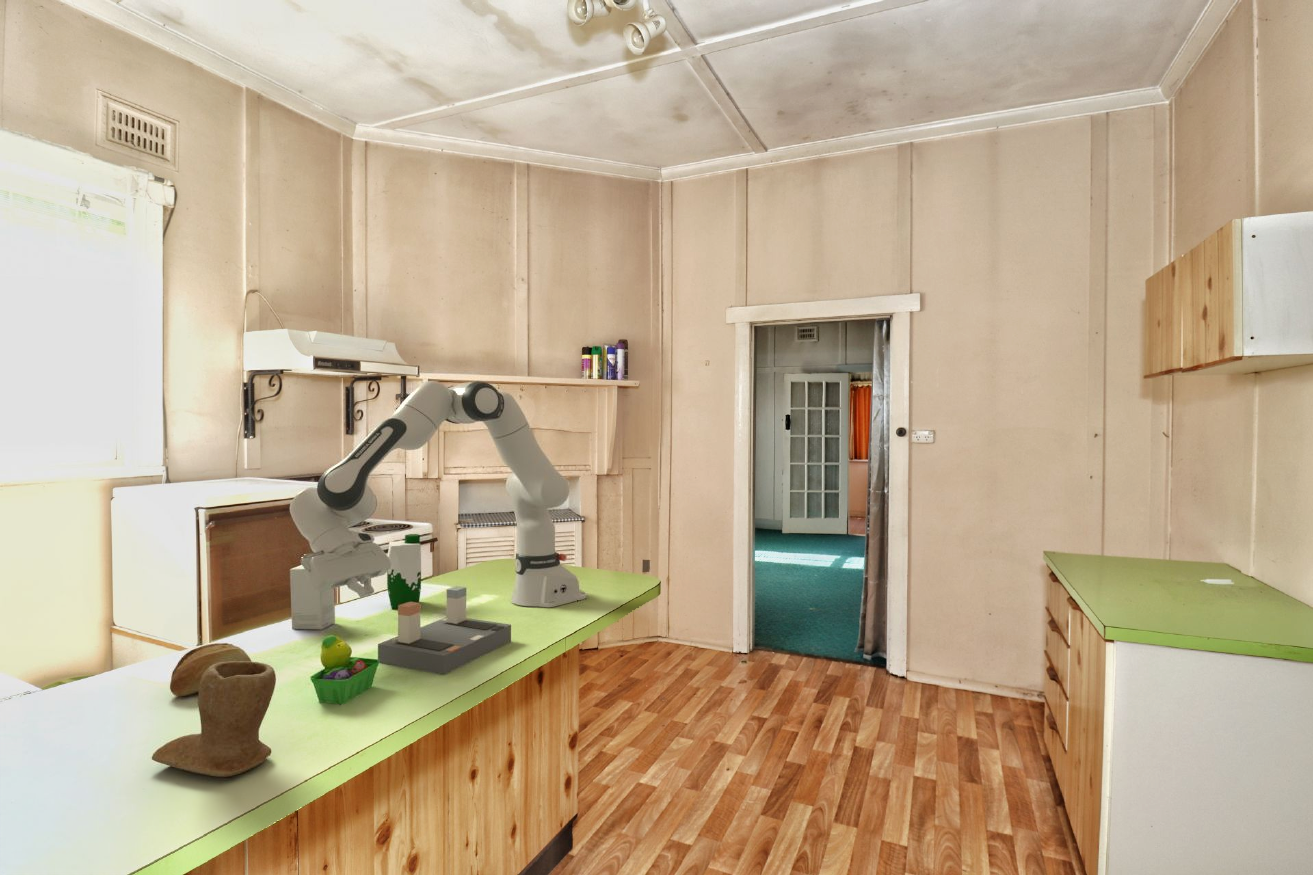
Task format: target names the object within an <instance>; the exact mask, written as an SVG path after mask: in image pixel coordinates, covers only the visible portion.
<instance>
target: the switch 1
mask: <svg viewBox="0 0 1313 875" xmlns="http://www.w3.org/2000/svg"><path fill="white" fill-rule="evenodd" d="M421 605H422V604H421V602H419V603H416V602H407V603H404V604H401V605H398V609H397V636H398V642H402V643H408V644H409V643H411V642H414V641H416V640H419V639H420V627H421V608H422V607H421Z"/></svg>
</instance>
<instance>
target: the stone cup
mask: <svg viewBox="0 0 1313 875" xmlns="http://www.w3.org/2000/svg"><path fill="white" fill-rule="evenodd" d="M276 681H277V676H276V672H275V669H274V667H272V666H271V665H270V664H268V663H264V662H257V661H252V662H250V661H227V662H220V663H216V664H213V665H212V666H210V667H209V668H208V669H207V670H206V671H205V672H204V674H203V675H202V678H201V681H200V685H199V692H198V698H197V700H198V701H197V703H198V705H197V707H198V712H199V718H200V730H201V731H200V733H194V734H193V733H192V734H188V735H183V736H179V737H177V738H175V739H172V740H171V741H169V742H166V743H165V744H164V745H162V746H160V747H159V748H157V749H156V751H155V752H153V754H152V756H151V760H153V762H157V763H159V764H163V765H165V766H169V767H173V768H176V769H179V770H183V771H187V772H190V773H191V772H192V773H195V774H200V775H205V776H211V777H217V778H219V777H220V778H222V777H224V778H225V777H231V776H235V775H239V774H242V773H244V772H247V771H249V770H251V769H253V768H255V767H257V766H258V765H260V764H261V763H263V762H265V761H266V760H267V758H268V757H270V755H271V754H272V749H271V747H269V746H268V745H266V744H265V743H263V742H262V741H261V740H260V728H261V725H262V723H263V720H264V718H265V715H266V714H267V711H268V709H269V707H270V703H271V702H272V698H273V695H274V691H275V688H276V683H277V682H276Z"/></svg>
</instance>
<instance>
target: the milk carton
mask: <svg viewBox="0 0 1313 875" xmlns="http://www.w3.org/2000/svg"><path fill="white" fill-rule="evenodd" d="M421 546H422V543H421V534H418V533H409V534H405V536H404V540H397V541H395V540H394V541H389V544H388V551H387V556H388V558H389V559H390V561H391V568H390V569H389V570H388V571H387V572H386V579H387V580H386V584H387V585H386V588H387V594H388V598H389V602H390V607H391V610H398V605H401V604H404V603H407V602H416V603H420V600H421V599H420V597H421V592H422V591H421V590H422V588H421V587H422V549H421V548H422V547H421Z"/></svg>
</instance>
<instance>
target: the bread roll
mask: <svg viewBox="0 0 1313 875" xmlns="http://www.w3.org/2000/svg"><path fill="white" fill-rule="evenodd" d="M227 661H250V662H253V660H251V657H250V656H249V655H248V654H247V652H246V651H245V650H244V649H242V648H241V647H239V646H238V645H237V646H236V645H234V644H233V643H227V642H225V643H224V642H223V643H222V642H221V643H219V642H217V643H210V644H206V645H202V646H199V647H196V648H194V649H192V650H189V651H187V652H186V653H185V654H184V655H183V656H182V657H181V658H180V659H179V661H178V662H177V664H176V665H175V667H174V669H173V670H172V674H171V677H170V678H171V679H170V684H169V689H170V693H172V694H173V695H174V696H176V697H184V696H189V695H193V694H195V693H199V685H200V681H201V678H202V675H203V674H204V672H205V671H206V670H207V669H208V668H209V667H210V666H212V665H213V664H216V663H220V662H227Z"/></svg>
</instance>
